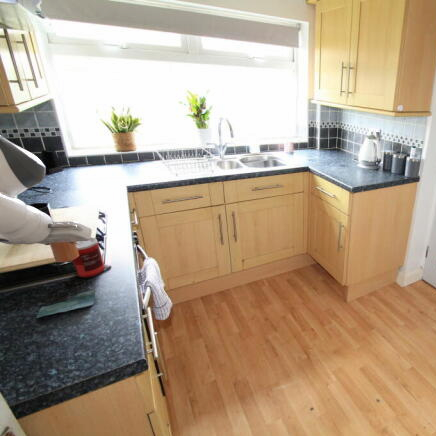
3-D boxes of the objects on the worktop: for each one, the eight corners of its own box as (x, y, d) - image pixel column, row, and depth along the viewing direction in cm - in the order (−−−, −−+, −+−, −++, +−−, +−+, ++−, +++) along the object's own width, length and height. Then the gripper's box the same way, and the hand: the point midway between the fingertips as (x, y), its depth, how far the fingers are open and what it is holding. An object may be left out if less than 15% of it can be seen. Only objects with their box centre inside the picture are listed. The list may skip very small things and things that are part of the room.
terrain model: (36, 324, 84) (34, 318, 83) (42, 308, 90) (40, 302, 89) (95, 308, 90) (94, 302, 89) (96, 294, 96) (95, 289, 95)
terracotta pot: (51, 263, 91) (40, 235, 88) (62, 253, 96) (53, 226, 93) (72, 261, 92) (63, 234, 89) (83, 252, 97) (74, 225, 94)
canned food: (85, 265, 110) (76, 237, 105) (110, 264, 110) (101, 236, 106) (71, 278, 103) (60, 248, 98) (97, 277, 103) (88, 248, 99)
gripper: (76, 212, 83) (104, 230, 96) (-14, 216, 80) (27, 233, 92) (72, 235, 81) (101, 250, 93) (-21, 240, 77) (22, 254, 90)
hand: (63, 241), depth 93 cm, fingers closed on terracotta pot, 5 cm apart
